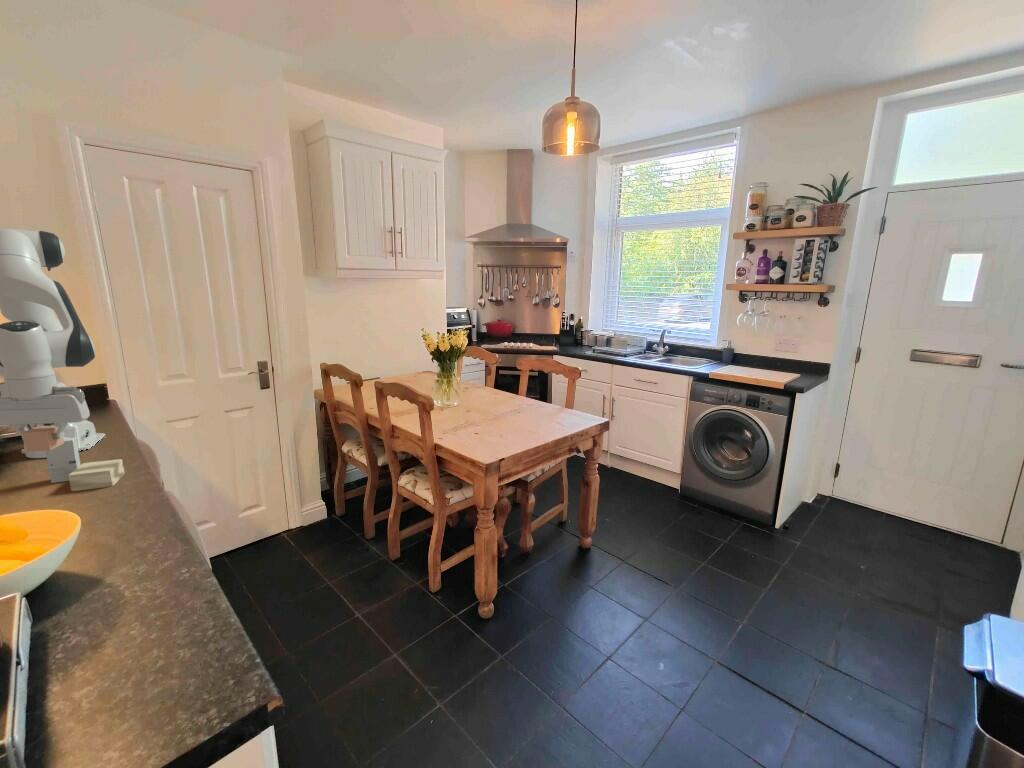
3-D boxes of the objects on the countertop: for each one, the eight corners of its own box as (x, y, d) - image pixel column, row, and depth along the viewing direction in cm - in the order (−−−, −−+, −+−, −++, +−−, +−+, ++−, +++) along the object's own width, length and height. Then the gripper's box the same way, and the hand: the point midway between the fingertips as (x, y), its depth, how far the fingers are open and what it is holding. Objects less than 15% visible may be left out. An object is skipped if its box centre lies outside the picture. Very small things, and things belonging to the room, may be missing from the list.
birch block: (86, 478, 132) (83, 462, 131) (124, 474, 136) (122, 459, 135) (71, 492, 124) (68, 475, 123) (112, 487, 128) (109, 470, 127)
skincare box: (51, 484, 128) (42, 443, 125) (55, 478, 132) (46, 438, 129) (80, 479, 131) (72, 440, 129) (83, 473, 135) (75, 435, 132)
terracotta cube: (41, 444, 118) (37, 426, 117) (64, 443, 119) (60, 425, 118) (26, 451, 113) (22, 432, 112) (50, 450, 114) (46, 431, 113)
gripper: (90, 383, 118) (99, 433, 121) (-6, 385, 113) (6, 437, 117) (73, 389, 112) (83, 441, 115) (-29, 391, 107) (-15, 445, 111)
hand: (44, 439), depth 116 cm, fingers closed on terracotta cube, 5 cm apart
